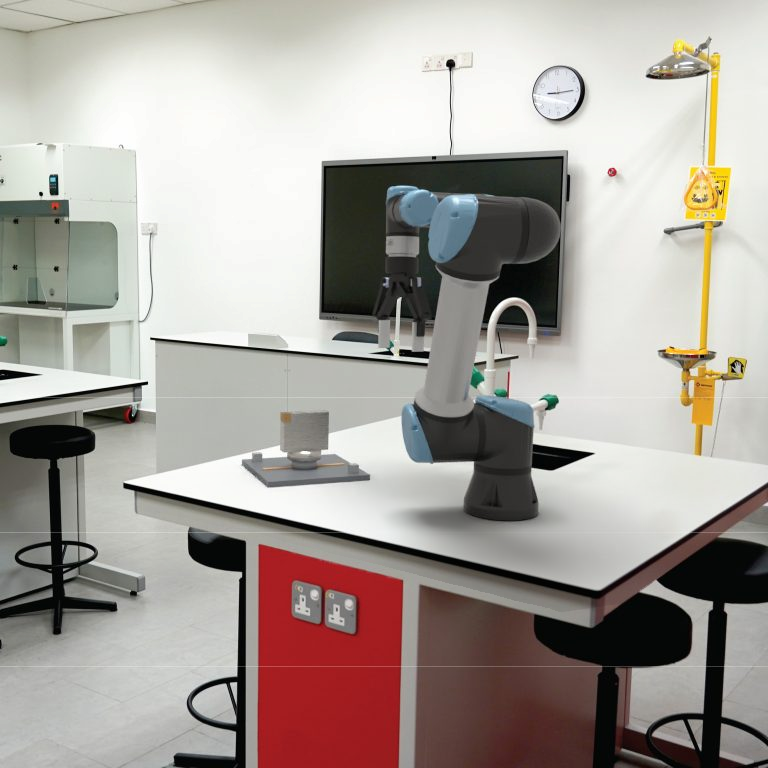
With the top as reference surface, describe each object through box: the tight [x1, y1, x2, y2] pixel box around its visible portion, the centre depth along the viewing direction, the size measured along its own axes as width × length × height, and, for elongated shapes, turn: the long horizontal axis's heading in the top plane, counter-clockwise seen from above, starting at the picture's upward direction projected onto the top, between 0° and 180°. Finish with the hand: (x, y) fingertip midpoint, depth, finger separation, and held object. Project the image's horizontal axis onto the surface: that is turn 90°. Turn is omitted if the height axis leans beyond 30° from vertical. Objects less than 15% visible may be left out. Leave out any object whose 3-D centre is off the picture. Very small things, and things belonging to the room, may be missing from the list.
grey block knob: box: [279, 409, 330, 462], centre depth 213 cm, size 11×8×11 cm
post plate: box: [241, 451, 371, 488], centre depth 214 cm, size 24×24×3 cm
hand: (400, 349), depth 207 cm, fingers open, 13 cm apart
